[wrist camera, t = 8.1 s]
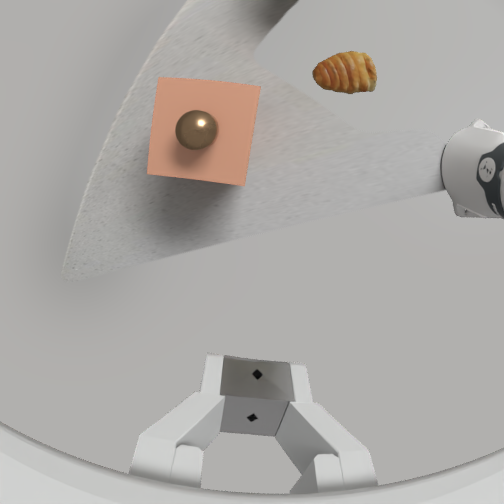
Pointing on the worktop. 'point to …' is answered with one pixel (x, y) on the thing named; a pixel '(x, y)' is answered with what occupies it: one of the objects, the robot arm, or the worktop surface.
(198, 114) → the plunger
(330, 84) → the pastry
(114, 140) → the worktop surface
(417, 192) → the worktop surface
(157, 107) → the block
